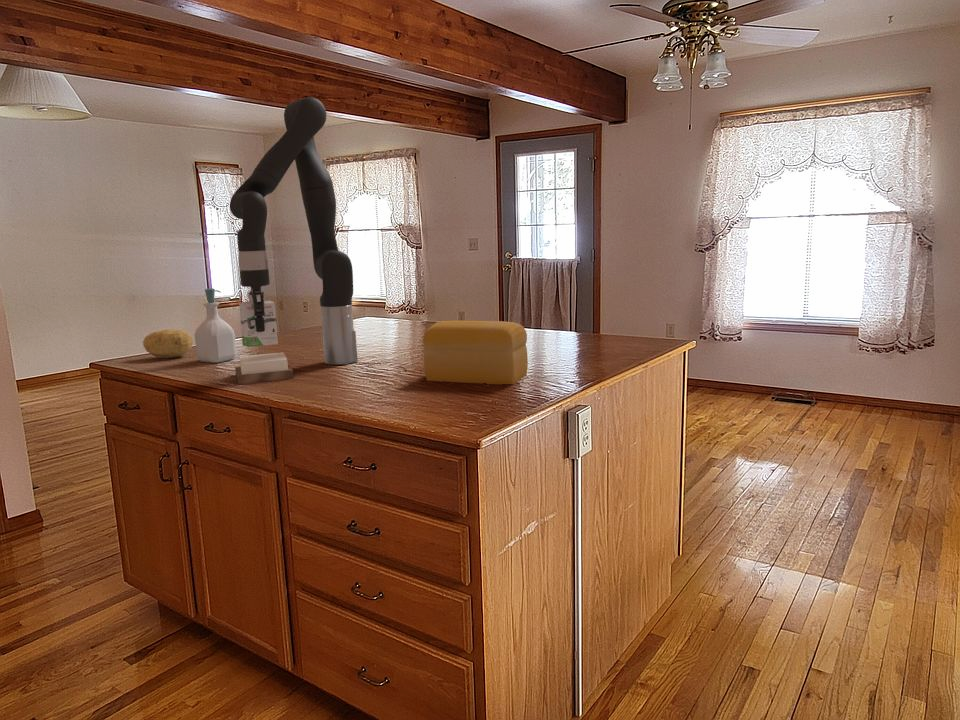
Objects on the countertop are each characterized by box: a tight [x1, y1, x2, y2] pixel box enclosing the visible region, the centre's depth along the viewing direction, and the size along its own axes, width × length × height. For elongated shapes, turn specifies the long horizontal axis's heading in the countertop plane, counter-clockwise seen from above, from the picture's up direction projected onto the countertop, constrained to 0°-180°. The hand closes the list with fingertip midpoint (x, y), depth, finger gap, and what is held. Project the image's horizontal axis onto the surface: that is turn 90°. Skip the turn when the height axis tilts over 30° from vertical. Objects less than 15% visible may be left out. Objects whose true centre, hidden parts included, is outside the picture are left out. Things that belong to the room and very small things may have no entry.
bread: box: [422, 320, 529, 385], centre depth 178 cm, size 24×13×15 cm, turn 69°
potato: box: [142, 329, 194, 359], centre depth 224 cm, size 10×14×10 cm
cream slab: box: [239, 352, 289, 375], centre depth 189 cm, size 12×12×3 cm
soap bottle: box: [194, 288, 238, 364], centre depth 215 cm, size 10×10×23 cm
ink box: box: [238, 300, 279, 348], centre depth 187 cm, size 9×5×12 cm, turn 123°
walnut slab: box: [234, 364, 294, 385], centre depth 190 cm, size 14×14×3 cm
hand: (259, 330), depth 188 cm, fingers closed on ink box, 5 cm apart
